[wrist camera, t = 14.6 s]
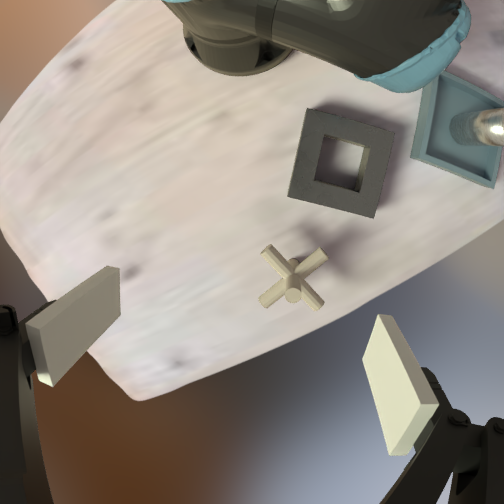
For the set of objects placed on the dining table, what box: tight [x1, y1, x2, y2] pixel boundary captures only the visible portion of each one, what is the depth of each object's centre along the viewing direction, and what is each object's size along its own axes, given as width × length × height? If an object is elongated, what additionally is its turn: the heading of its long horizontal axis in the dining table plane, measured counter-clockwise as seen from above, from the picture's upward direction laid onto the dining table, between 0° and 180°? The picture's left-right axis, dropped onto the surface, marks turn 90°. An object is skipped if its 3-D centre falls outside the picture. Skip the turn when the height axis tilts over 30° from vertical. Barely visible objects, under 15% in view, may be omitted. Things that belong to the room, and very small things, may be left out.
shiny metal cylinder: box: [449, 108, 504, 146], centre depth 29 cm, size 4×4×12 cm
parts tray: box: [410, 71, 504, 189], centre depth 35 cm, size 13×13×3 cm
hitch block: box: [287, 108, 395, 219], centre depth 38 cm, size 11×11×4 cm
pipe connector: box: [258, 244, 329, 311], centre depth 40 cm, size 10×10×10 cm
